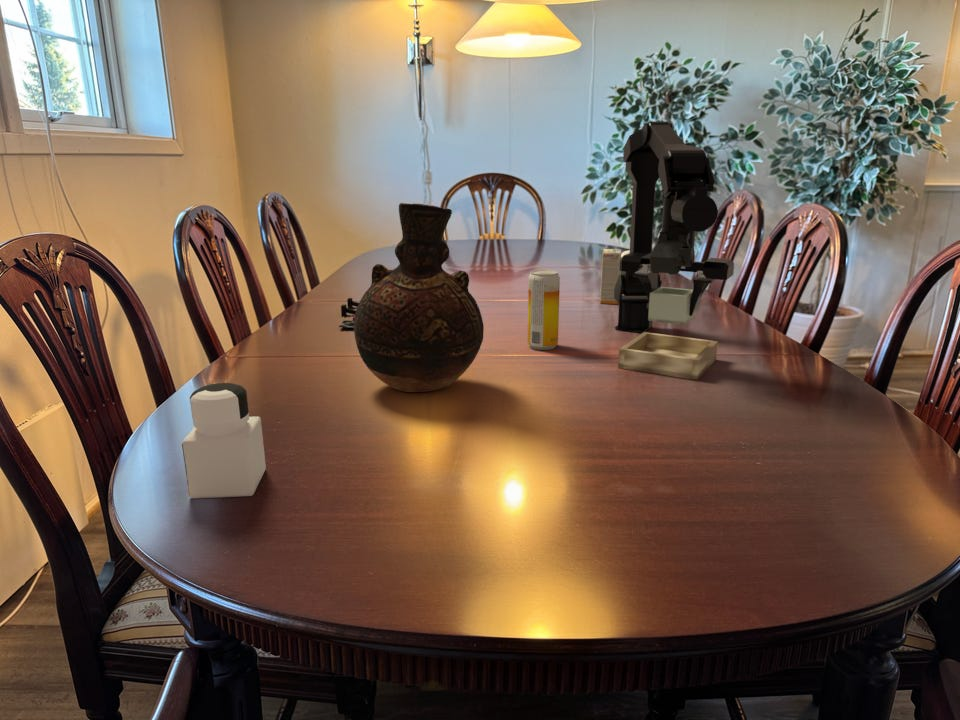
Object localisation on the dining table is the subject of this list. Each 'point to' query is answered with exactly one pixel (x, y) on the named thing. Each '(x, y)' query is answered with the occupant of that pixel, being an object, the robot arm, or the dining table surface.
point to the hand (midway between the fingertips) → (671, 313)
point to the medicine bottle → (223, 444)
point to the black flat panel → (348, 310)
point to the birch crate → (668, 355)
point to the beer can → (543, 309)
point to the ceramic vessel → (418, 310)
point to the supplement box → (609, 275)
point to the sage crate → (670, 305)
